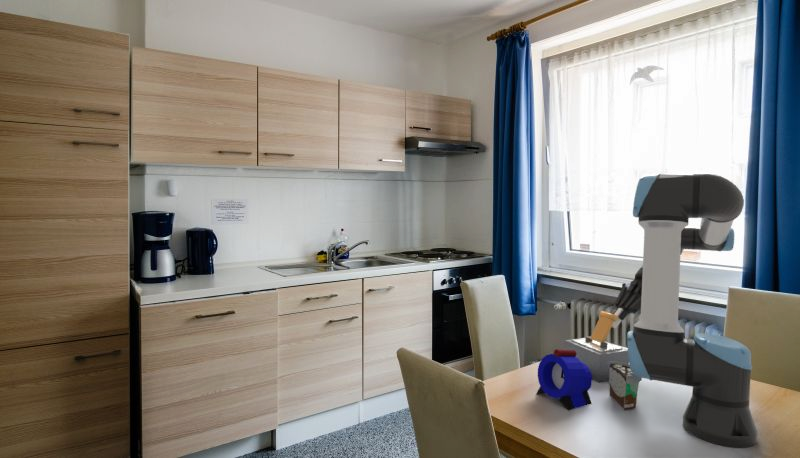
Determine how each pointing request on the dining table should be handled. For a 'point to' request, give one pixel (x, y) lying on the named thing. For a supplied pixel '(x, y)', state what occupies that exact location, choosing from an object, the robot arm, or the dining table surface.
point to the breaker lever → (603, 326)
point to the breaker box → (597, 356)
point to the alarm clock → (565, 378)
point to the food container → (623, 385)
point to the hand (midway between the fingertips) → (611, 325)
